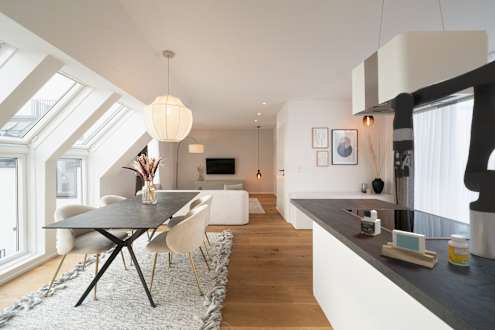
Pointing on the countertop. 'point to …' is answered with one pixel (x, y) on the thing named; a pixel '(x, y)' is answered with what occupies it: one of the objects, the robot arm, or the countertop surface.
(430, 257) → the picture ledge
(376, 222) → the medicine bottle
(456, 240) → the supplement bottle
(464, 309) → the countertop surface
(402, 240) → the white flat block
